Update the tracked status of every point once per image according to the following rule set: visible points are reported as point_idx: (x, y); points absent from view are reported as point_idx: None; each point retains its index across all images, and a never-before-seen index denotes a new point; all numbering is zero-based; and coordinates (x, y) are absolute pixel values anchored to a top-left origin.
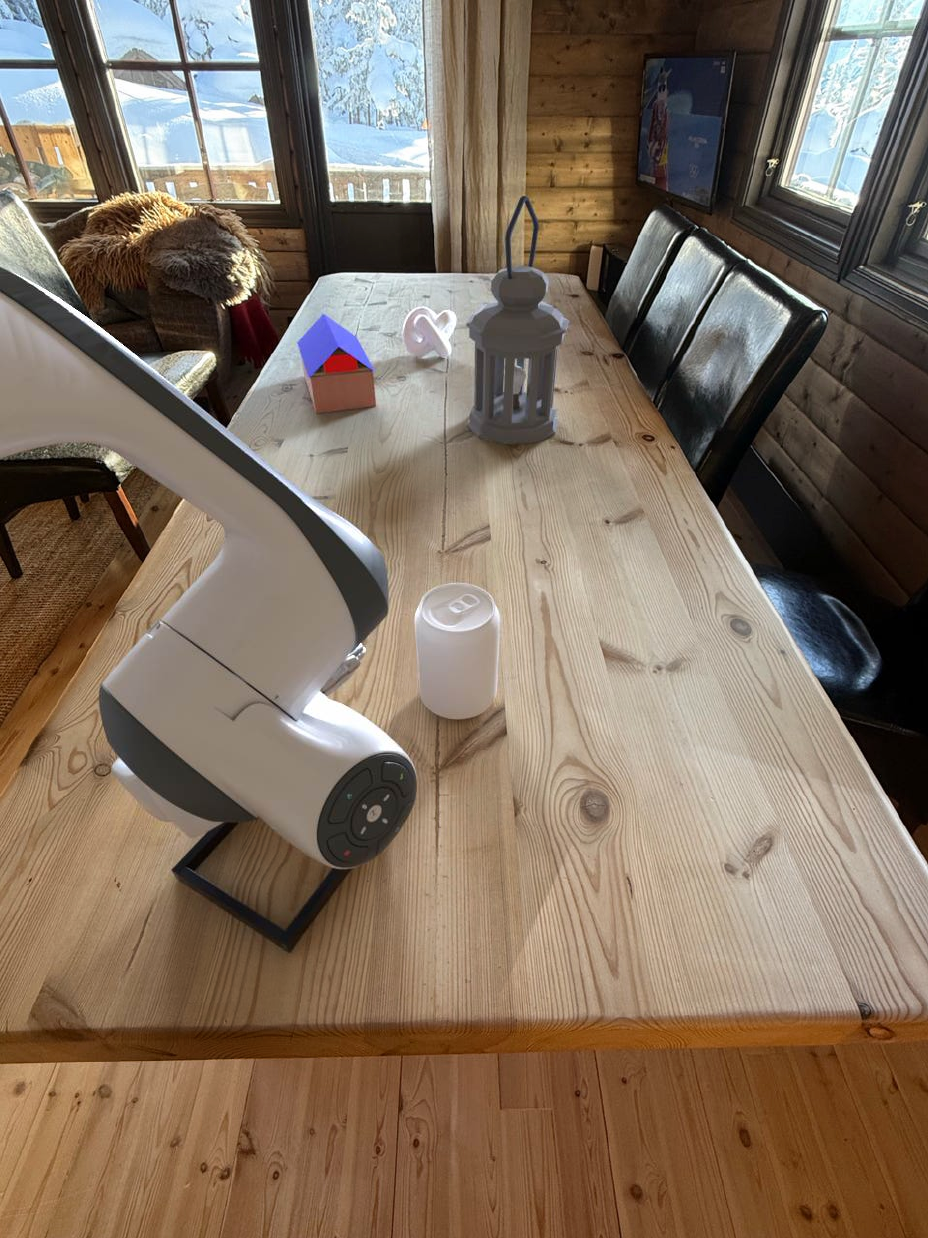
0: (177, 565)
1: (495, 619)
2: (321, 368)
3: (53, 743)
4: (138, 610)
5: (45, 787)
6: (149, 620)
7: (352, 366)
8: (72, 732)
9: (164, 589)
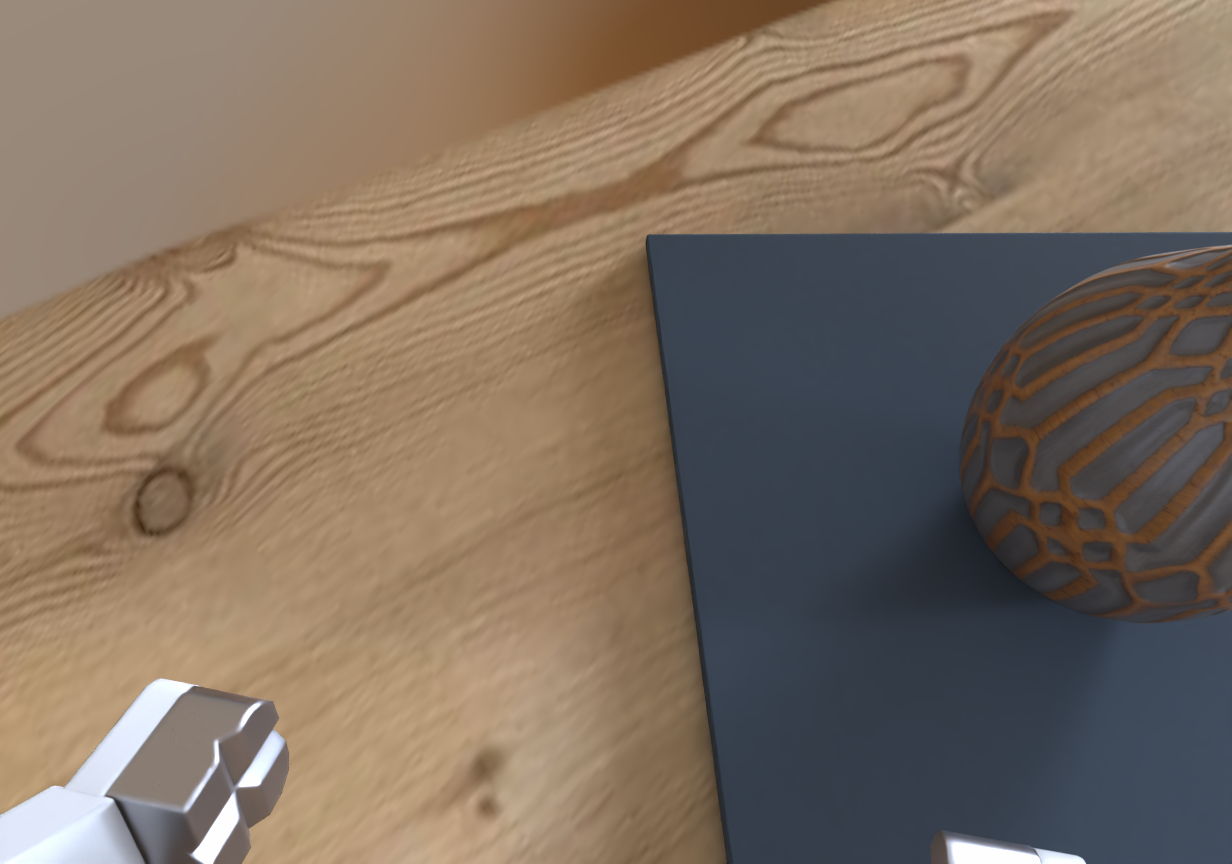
0: (1013, 5)
1: None
2: None
3: (197, 266)
4: (794, 54)
5: (12, 394)
6: (790, 106)
7: None
8: (266, 278)
9: (915, 47)
